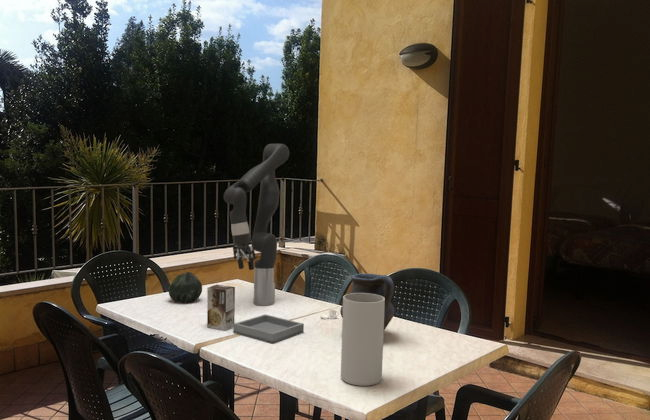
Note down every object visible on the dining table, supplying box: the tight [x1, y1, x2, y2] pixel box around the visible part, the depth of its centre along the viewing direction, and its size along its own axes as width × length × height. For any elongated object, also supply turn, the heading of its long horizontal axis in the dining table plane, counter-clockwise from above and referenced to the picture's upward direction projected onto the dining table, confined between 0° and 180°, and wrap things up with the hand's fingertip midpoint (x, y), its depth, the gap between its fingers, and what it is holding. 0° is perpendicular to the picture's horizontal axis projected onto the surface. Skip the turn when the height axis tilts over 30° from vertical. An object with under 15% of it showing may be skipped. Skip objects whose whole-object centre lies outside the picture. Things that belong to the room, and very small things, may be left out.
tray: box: [232, 314, 305, 345], centre depth 205 cm, size 18×20×4 cm
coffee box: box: [206, 284, 236, 331], centre depth 210 cm, size 9×6×16 cm
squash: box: [168, 271, 203, 304], centre depth 250 cm, size 14×15×15 cm
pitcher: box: [339, 273, 396, 332], centre depth 203 cm, size 21×22×25 cm
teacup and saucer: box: [320, 308, 342, 322], centre depth 228 cm, size 9×8×4 cm
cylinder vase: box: [340, 293, 385, 387], centre depth 161 cm, size 12×12×25 cm
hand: (246, 269), depth 235 cm, fingers open, 8 cm apart
